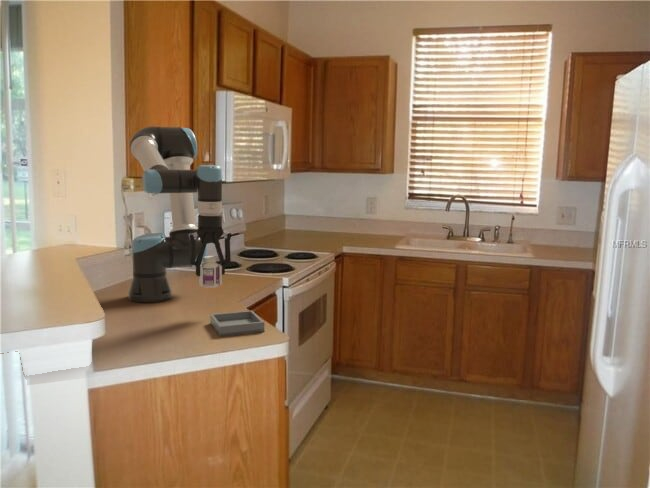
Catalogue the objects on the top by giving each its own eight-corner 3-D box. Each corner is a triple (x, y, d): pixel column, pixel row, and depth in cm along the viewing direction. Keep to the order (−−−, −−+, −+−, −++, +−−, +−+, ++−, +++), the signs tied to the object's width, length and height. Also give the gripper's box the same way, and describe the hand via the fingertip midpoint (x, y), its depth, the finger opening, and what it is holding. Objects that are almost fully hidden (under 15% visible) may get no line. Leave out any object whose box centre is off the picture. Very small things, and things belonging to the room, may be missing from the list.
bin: (219, 336, 164) (219, 326, 164) (210, 323, 177) (210, 314, 176) (264, 331, 170) (264, 322, 169) (252, 319, 182) (252, 310, 182)
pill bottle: (211, 283, 187) (211, 254, 185) (222, 285, 183) (222, 257, 182) (198, 286, 182) (198, 256, 181) (209, 288, 179) (208, 259, 177)
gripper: (182, 216, 172) (183, 289, 176) (241, 215, 179) (241, 285, 183) (178, 213, 179) (179, 284, 183) (235, 212, 186) (235, 280, 190)
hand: (210, 284), depth 183 cm, fingers closed on pill bottle, 5 cm apart
